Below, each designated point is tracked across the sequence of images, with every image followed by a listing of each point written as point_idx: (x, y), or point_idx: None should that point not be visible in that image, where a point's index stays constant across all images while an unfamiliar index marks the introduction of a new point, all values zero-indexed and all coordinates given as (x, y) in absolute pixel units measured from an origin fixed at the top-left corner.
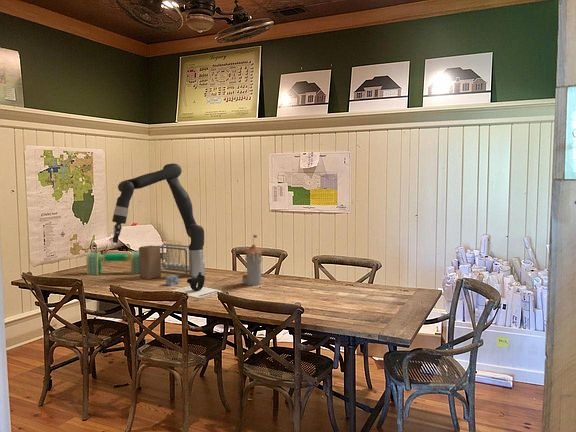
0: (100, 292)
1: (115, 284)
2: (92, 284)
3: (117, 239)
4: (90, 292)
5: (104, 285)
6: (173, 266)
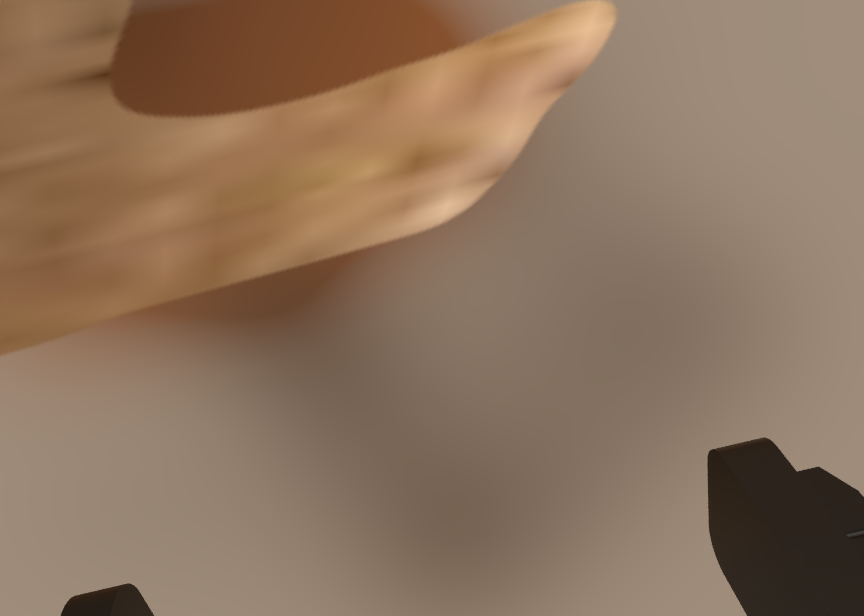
0: (483, 108)
1: (46, 18)
2: (67, 291)
3: (848, 558)
4: (453, 205)
5: (118, 151)
6: None
